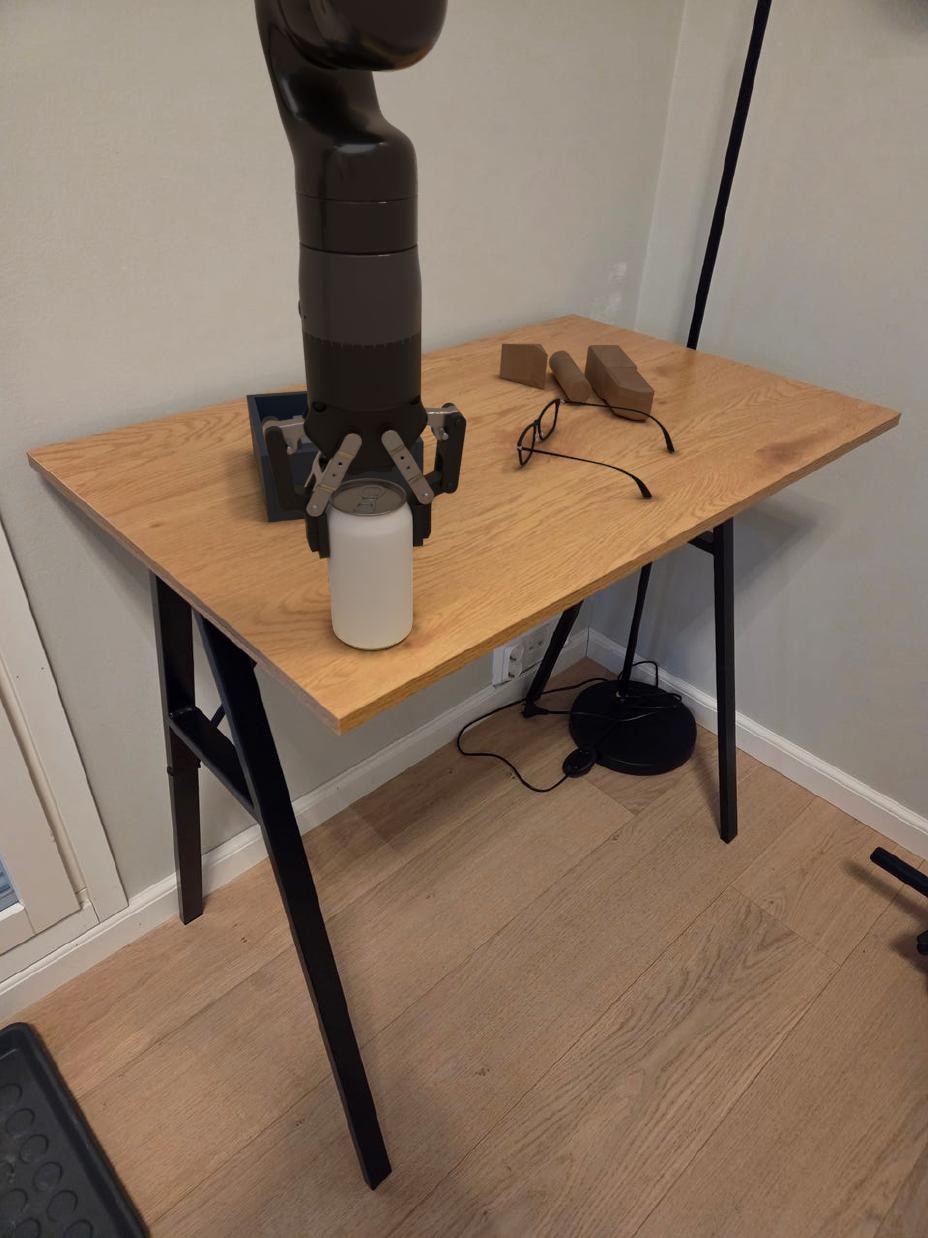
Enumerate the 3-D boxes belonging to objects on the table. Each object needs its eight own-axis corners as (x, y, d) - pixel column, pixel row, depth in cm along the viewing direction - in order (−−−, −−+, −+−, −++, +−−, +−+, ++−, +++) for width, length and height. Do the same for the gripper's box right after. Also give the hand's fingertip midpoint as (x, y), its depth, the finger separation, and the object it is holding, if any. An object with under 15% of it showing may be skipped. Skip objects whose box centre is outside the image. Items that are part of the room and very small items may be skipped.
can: (418, 608, 66) (418, 479, 59) (406, 656, 61) (405, 521, 54) (342, 601, 67) (334, 472, 60) (324, 648, 62) (312, 513, 54)
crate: (268, 522, 77) (260, 455, 73) (253, 454, 89) (246, 394, 85) (423, 504, 81) (423, 441, 77) (389, 442, 93) (388, 384, 89)
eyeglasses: (552, 422, 100) (555, 392, 97) (677, 447, 95) (684, 415, 93) (507, 475, 87) (510, 441, 85) (648, 506, 83) (655, 471, 80)
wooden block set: (618, 335, 112) (659, 380, 98) (612, 374, 115) (651, 423, 101) (501, 334, 110) (525, 380, 95) (498, 374, 113) (521, 424, 99)
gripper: (249, 345, 45) (279, 587, 55) (489, 332, 49) (476, 561, 58) (239, 308, 50) (267, 533, 60) (454, 299, 54) (447, 513, 64)
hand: (370, 546), depth 59 cm, fingers closed on can, 6 cm apart
